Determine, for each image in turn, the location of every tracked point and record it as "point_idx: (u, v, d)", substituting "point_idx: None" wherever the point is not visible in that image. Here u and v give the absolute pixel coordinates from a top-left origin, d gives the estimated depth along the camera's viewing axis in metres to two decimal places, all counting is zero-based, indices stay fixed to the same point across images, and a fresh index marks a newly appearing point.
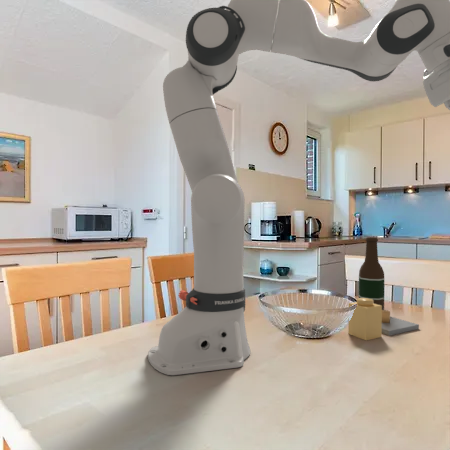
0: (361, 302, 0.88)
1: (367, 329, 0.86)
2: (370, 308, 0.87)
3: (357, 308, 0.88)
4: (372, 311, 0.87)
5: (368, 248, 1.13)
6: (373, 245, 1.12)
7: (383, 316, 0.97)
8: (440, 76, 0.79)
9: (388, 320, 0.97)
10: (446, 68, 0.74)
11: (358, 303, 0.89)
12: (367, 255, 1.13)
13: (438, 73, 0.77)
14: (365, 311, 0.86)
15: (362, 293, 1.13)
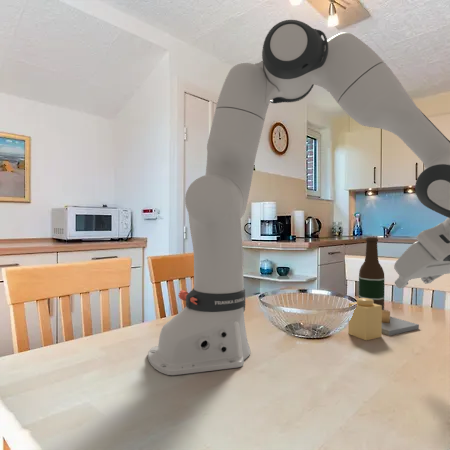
0: (361, 302, 0.88)
1: (367, 329, 0.86)
2: (370, 308, 0.87)
3: (357, 308, 0.88)
4: (372, 311, 0.87)
5: (368, 248, 1.13)
6: (373, 245, 1.12)
7: (383, 316, 0.97)
8: None
9: (388, 320, 0.97)
10: None
11: (358, 303, 0.89)
12: (368, 255, 1.13)
13: None
14: (365, 311, 0.86)
15: (362, 293, 1.13)
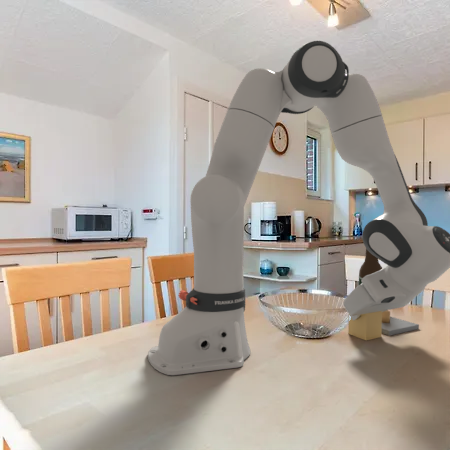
0: None
1: (367, 329, 0.86)
2: None
3: None
4: None
5: None
6: None
7: (383, 316, 0.97)
8: None
9: (388, 320, 0.97)
10: None
11: None
12: (368, 255, 1.13)
13: None
14: None
15: None
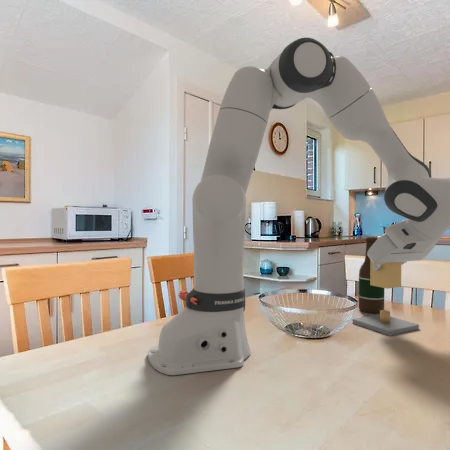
0: None
1: (388, 278, 0.94)
2: None
3: None
4: (393, 262, 0.95)
5: (368, 248, 1.13)
6: None
7: (383, 316, 0.97)
8: None
9: (388, 320, 0.97)
10: None
11: None
12: None
13: None
14: None
15: (362, 293, 1.13)
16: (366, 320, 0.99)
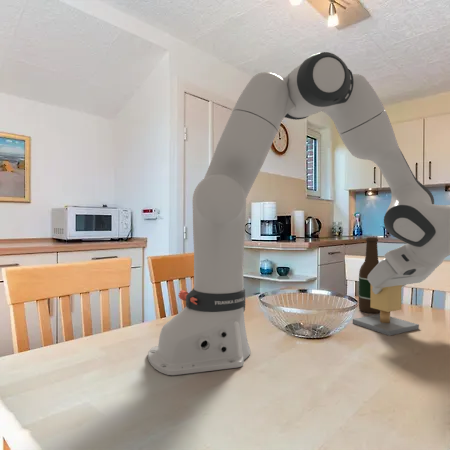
0: None
1: (389, 302, 0.94)
2: None
3: None
4: None
5: (368, 248, 1.13)
6: (373, 245, 1.12)
7: (383, 316, 0.97)
8: None
9: (388, 320, 0.97)
10: None
11: None
12: (368, 255, 1.13)
13: None
14: None
15: (362, 293, 1.13)
16: (366, 320, 0.99)
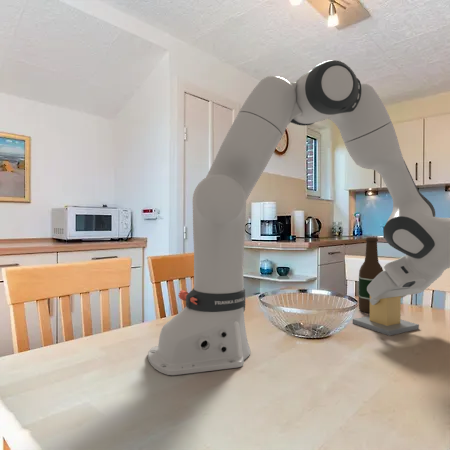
0: None
1: (388, 316, 0.94)
2: None
3: None
4: (392, 299, 0.95)
5: (368, 248, 1.13)
6: (373, 245, 1.12)
7: None
8: None
9: None
10: None
11: None
12: (367, 255, 1.13)
13: None
14: (386, 299, 0.94)
15: (362, 293, 1.13)
16: (366, 320, 0.99)
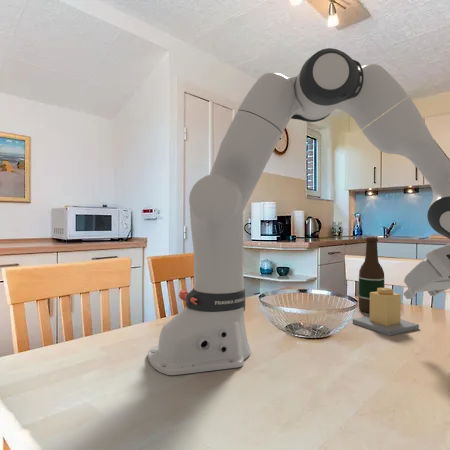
0: (382, 291, 0.96)
1: (388, 316, 0.94)
2: (390, 296, 0.94)
3: (378, 296, 0.96)
4: (392, 299, 0.95)
5: (368, 248, 1.13)
6: (373, 245, 1.12)
7: None
8: None
9: None
10: None
11: (379, 292, 0.97)
12: (368, 255, 1.13)
13: None
14: (386, 299, 0.94)
15: (362, 293, 1.13)
16: (366, 320, 0.99)
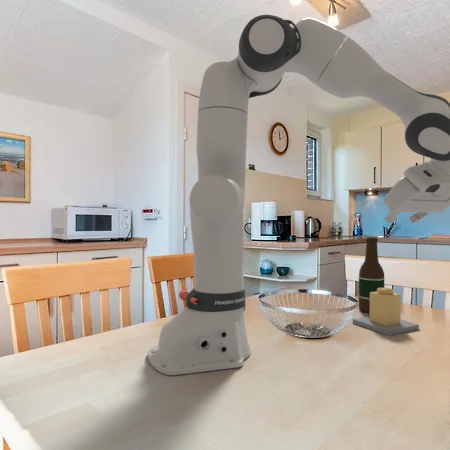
0: (382, 291, 0.96)
1: (388, 316, 0.94)
2: (390, 296, 0.94)
3: (378, 296, 0.96)
4: (392, 299, 0.95)
5: (368, 248, 1.13)
6: (373, 245, 1.12)
7: None
8: None
9: None
10: None
11: (379, 292, 0.97)
12: (368, 255, 1.13)
13: None
14: (386, 299, 0.94)
15: (362, 293, 1.13)
16: (366, 320, 0.99)
